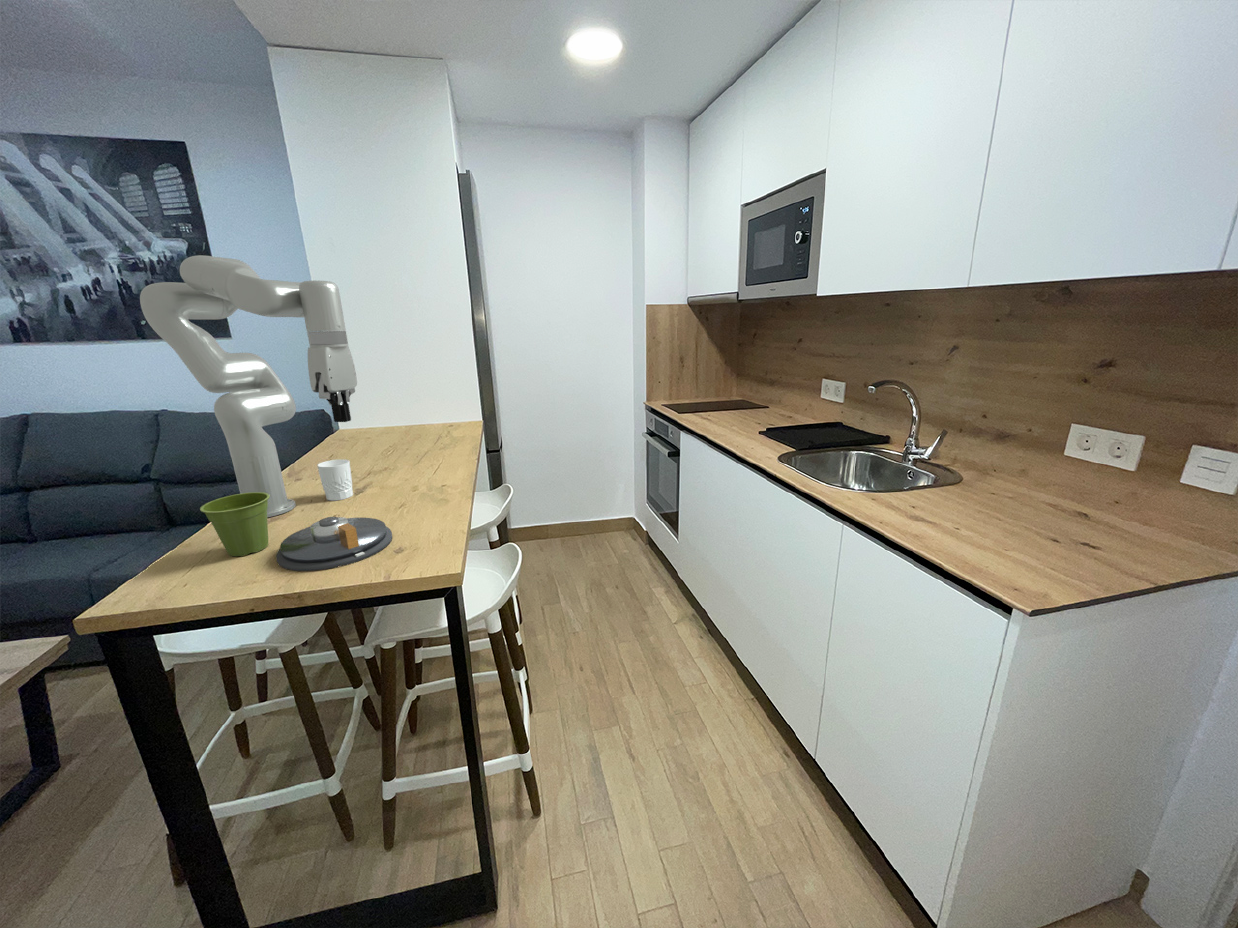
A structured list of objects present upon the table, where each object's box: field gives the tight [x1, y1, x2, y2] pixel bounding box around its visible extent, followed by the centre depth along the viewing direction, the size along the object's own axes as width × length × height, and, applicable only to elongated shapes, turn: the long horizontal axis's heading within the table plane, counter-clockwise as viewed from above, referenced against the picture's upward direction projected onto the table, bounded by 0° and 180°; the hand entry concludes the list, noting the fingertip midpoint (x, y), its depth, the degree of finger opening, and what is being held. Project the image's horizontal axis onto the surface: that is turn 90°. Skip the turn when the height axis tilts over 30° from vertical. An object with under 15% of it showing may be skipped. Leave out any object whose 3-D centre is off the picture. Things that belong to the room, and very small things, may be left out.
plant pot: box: [199, 492, 270, 557], centre depth 105 cm, size 12×12×11 cm
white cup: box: [316, 458, 354, 502], centre depth 138 cm, size 8×8×10 cm
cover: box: [309, 516, 348, 543], centre depth 106 cm, size 7×7×4 cm
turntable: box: [279, 517, 387, 563], centre depth 106 cm, size 20×20×6 cm
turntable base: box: [275, 526, 393, 572], centre depth 107 cm, size 22×22×1 cm
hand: (342, 421), depth 114 cm, fingers closed
